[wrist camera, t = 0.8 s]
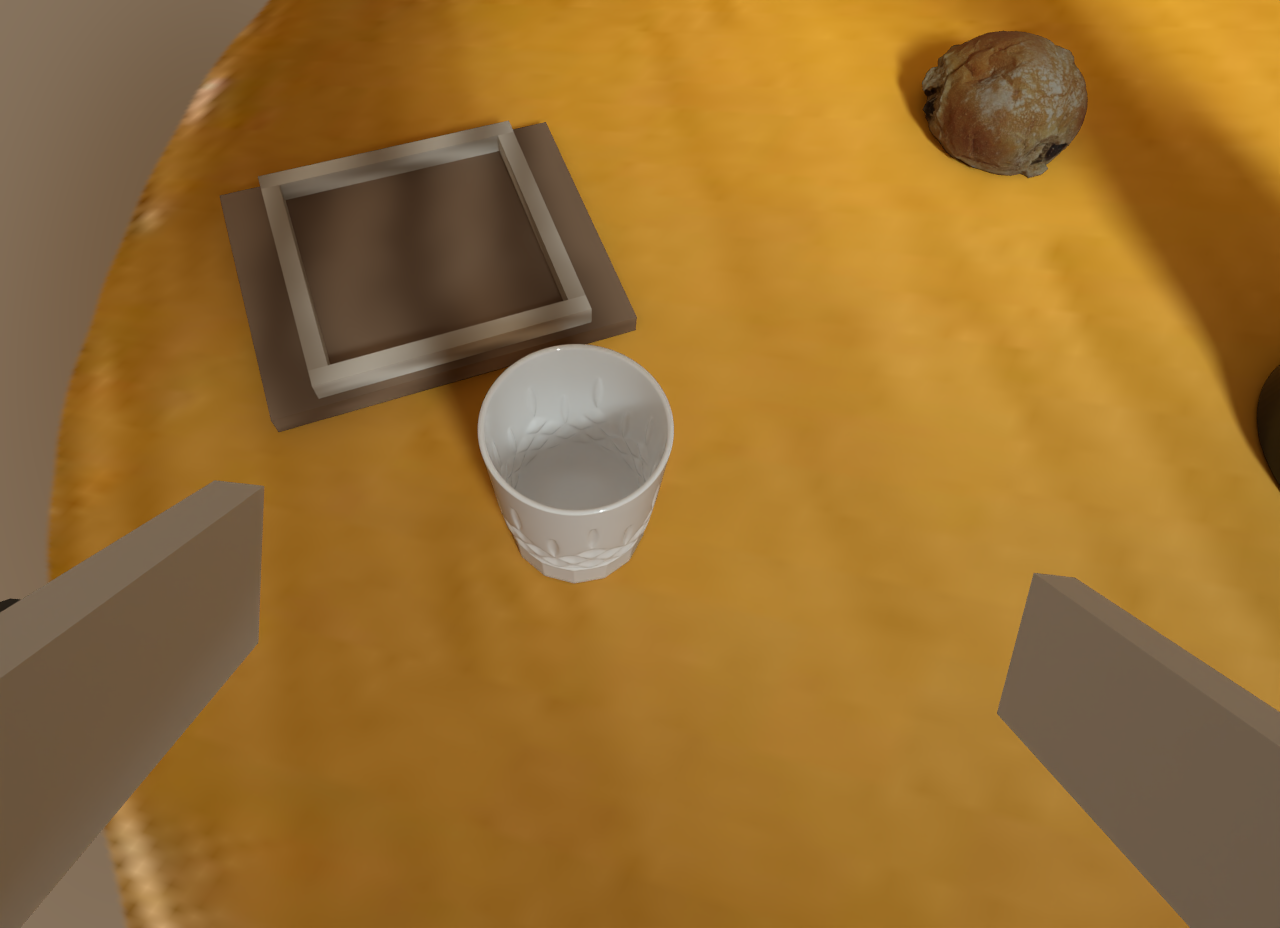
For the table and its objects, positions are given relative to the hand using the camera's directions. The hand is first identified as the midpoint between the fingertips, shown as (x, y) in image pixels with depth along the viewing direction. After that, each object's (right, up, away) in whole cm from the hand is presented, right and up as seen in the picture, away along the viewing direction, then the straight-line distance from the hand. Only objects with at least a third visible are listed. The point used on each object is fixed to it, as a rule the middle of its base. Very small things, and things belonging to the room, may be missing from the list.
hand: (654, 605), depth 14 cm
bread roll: (+24, +25, +44) cm, 56 cm away
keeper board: (-13, +14, +35) cm, 40 cm away
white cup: (-3, -1, +29) cm, 29 cm away
